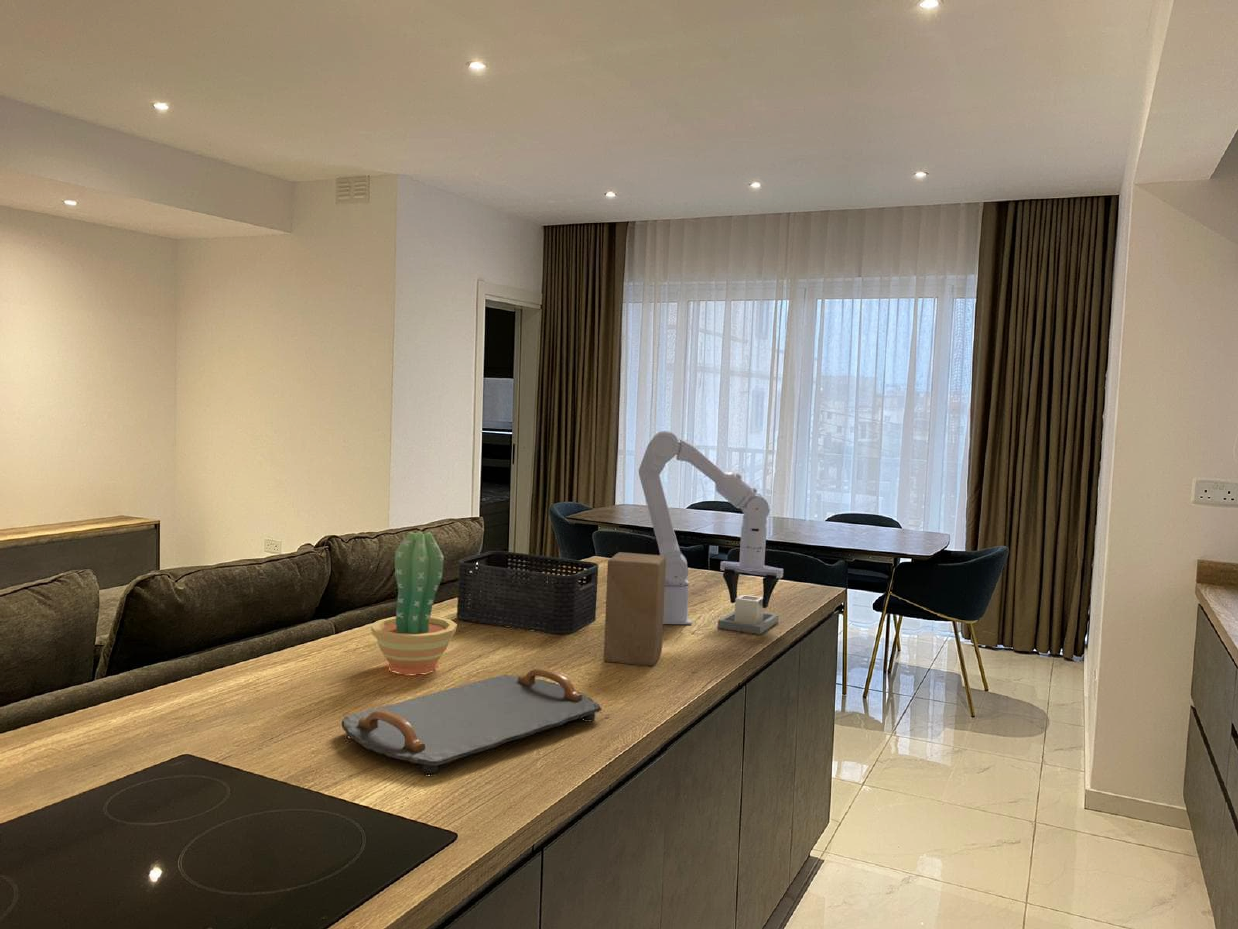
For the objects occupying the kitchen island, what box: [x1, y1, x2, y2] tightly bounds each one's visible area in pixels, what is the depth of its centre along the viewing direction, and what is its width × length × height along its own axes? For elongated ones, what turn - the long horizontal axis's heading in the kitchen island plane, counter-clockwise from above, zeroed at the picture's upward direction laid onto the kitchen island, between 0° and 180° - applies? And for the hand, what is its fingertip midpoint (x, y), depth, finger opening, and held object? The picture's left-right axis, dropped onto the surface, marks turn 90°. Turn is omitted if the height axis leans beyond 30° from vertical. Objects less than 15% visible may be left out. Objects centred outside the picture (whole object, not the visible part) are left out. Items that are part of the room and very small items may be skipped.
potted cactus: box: [370, 530, 458, 674], centre depth 165 cm, size 15×15×25 cm
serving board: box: [341, 667, 602, 777], centre depth 138 cm, size 39×23×6 cm, turn 139°
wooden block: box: [603, 551, 666, 667], centre depth 179 cm, size 10×10×20 cm
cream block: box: [734, 594, 765, 625], centre depth 210 cm, size 5×5×6 cm
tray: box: [717, 610, 779, 635], centre depth 210 cm, size 14×10×2 cm
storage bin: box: [456, 550, 599, 635], centre depth 207 cm, size 29×19×13 cm
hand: (749, 604), depth 210 cm, fingers open, 7 cm apart
